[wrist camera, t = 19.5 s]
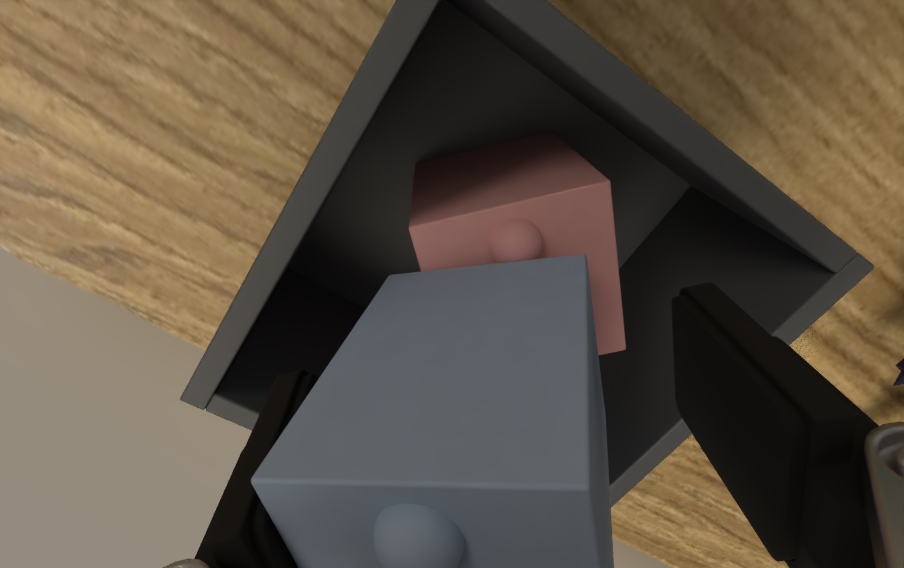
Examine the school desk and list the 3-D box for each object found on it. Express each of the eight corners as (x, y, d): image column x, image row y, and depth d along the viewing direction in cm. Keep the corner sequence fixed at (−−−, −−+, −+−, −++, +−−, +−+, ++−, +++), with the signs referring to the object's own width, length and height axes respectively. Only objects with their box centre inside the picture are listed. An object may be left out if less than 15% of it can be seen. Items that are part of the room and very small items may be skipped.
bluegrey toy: (388, 274, 12) (220, 519, 6) (586, 252, 11) (591, 537, 5) (433, 419, 14) (335, 703, 8) (605, 416, 13) (623, 751, 7)
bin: (268, 266, 19) (178, 400, 12) (436, -35, 15) (441, -85, 8) (515, 396, 22) (554, 561, 15) (709, 176, 18) (877, 267, 11)
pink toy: (414, 163, 17) (407, 237, 11) (551, 130, 16) (620, 187, 11) (447, 283, 19) (454, 401, 13) (569, 255, 18) (635, 364, 13)
